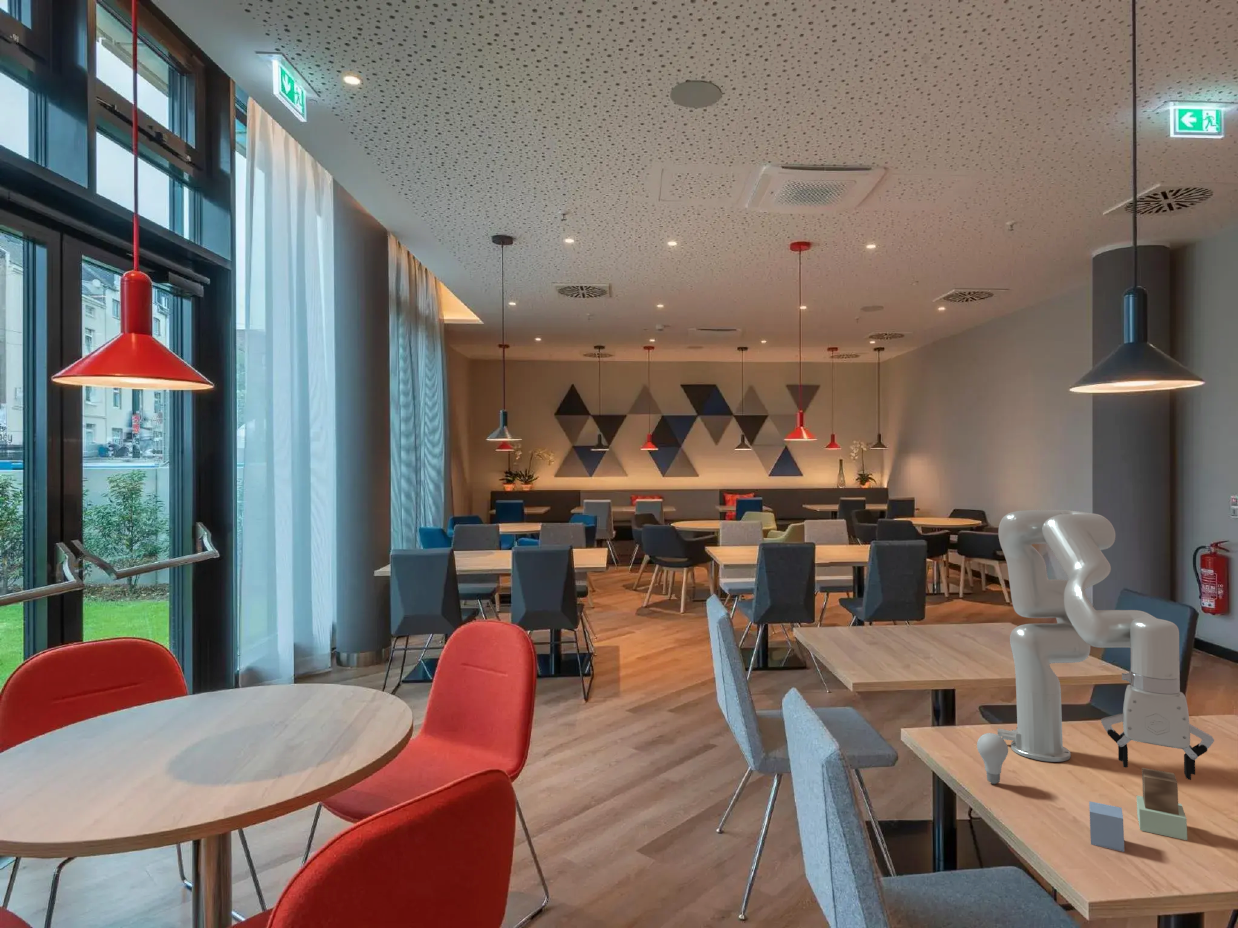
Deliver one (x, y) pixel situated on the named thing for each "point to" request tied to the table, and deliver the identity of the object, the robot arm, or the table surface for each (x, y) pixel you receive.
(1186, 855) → the table surface
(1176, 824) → the base brick
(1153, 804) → the walnut block
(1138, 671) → the robot arm
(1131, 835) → the table surface
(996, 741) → the lightbulb
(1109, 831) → the slate block
